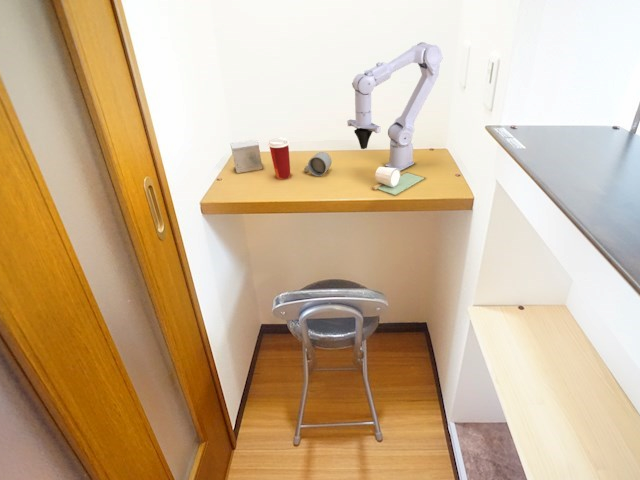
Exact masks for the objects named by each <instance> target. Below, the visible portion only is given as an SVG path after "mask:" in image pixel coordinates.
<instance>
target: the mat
mask: <svg viewBox="0 0 640 480" xmlns="http://www.w3.org/2000/svg"><path fill="white" fill-rule="evenodd" d="M424 179H425V177H422V176H420V175H416V174H413V173H409V172H406V173H403V174H402V175H401V177H400V181H399V183H398V185H397V186H396V187H390V186H387V185H383V186H381V187H379V188H377V189H376V190H379V191H381V192H384V193H387V194H390V195H392V196H397V195H398V194H400V193H402V192H403V191H405V190H407V189H409V188H410V187H412V186H414V185H416V184H418V183H419V182H421V181H423V180H424Z"/></svg>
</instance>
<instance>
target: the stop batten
mask: <svg viewBox="0 0 640 480" xmlns="http://www.w3.org/2000/svg"><path fill="white" fill-rule="evenodd" d="M383 185H385V184H382V183H379V182H378V183H377V184H375V185H373V186H372V189H373V190H374V191H376V190H378V189H377V188H379V187H381V186H383Z"/></svg>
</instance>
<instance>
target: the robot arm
mask: <svg viewBox="0 0 640 480" xmlns="http://www.w3.org/2000/svg"><path fill="white" fill-rule="evenodd" d="M443 59H444V58H443V54H442V50H441V48H440V47H439V46H438V45H437V44H430V43H427V42H423V41H421V42H419V43H417V44H415V45H412V46H411V47H410V48H409V49H408V50H405V52H403V53H401V54H400V55H398V56H397V57H395V58H394V59H392V60H391V61H389V62H387V63H386V62H384V61H382V62H380V61H377V62H376V64H375V66H374V67H371V68H370V69H366V70H364V73H358V74H356V75H355V77H354V78H353V81H352V83H351V86H352V88H353V90H354V106H355V107H354V110H355V111H354V112H355V119H349V120H347V122H346V124H347V127H354V128H355V129H354V130H353V133H354V134H355V136H356V138H357V140H358V143H359V146H360V147H359V148H360V149H361V150H365V149H367V148H368V144H369V141H370V138H371V136H372V133H373V132H374V133H375V134H379V133H381V126H380V125H377V124H375V123H373V122H372V92H373V91H374V88H376V87H377V86H379V85H381V84H382V83H385V82H386V81H388V80H389V79H391V77H392V75H393V73H395V72H396V71H398V70H401V69H402V68H405V67H406V66H408V65H410V64H413V63H414V64H417V65H418V67H419V69H420V73H421V76H420V78H419V80H418V82H417V84H416V85H415V88H414V89H413V92H412V94H411V95H410V97H409V99H408V101H407V103H406V105H405V107H404V110H403V111H402V114H401V115H400V116H399V117H397V118H396V119H395V121H394V122H393V123H392V124H391V125H390V126H389V127H388V129H387V136H388V138H389V139H390V140H389V141H390V142H389V162H388V163H386V164H385V165H384V167H389V168H398V169H399V170H400V172H401V171H403V170H405V169H407V168H410V167H411V166H413V165H414V164H415V162H414V159H413V158H414V145H413V143H412V139H413V134H414V132H415V121H416V119H417V117H418V115H419V113H420V111H421V110H422V108H423V106H424V105H425V102H426V101H427V98H428V97H429V95H430V93H431V91H432V89H433V87H434V85H435V83H436V82H437V80H438V79H439V78H438V77H439V74H440V67H441V66H440V65H441V62H442V61H443Z"/></svg>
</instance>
